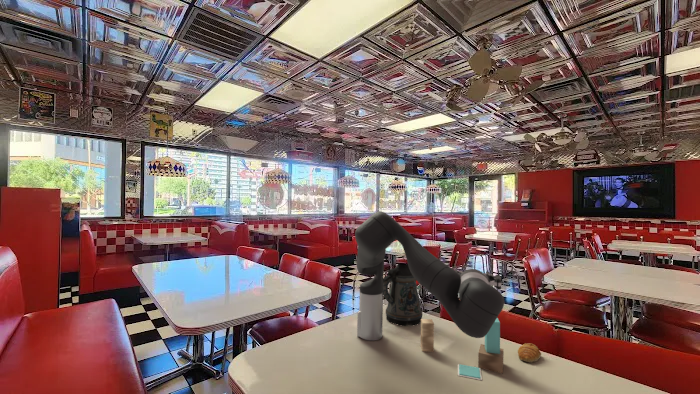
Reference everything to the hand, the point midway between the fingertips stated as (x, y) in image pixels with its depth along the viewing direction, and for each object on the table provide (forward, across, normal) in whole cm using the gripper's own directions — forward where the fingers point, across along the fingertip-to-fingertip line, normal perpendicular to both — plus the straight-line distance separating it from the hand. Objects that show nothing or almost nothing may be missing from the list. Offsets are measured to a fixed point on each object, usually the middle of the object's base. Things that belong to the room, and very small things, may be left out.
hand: (471, 273), depth 91 cm
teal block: (+14, -7, +27) cm, 31 cm away
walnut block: (+13, -7, +32) cm, 35 cm away
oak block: (+17, +14, +32) cm, 39 cm away
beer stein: (+41, +27, +32) cm, 59 cm away
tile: (+6, 0, +32) cm, 33 cm away
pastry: (+24, -20, +32) cm, 45 cm away
